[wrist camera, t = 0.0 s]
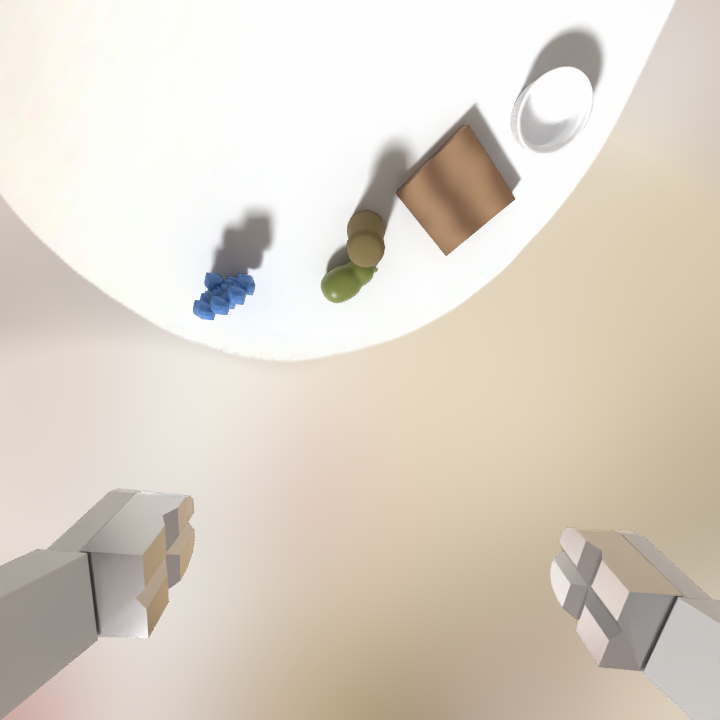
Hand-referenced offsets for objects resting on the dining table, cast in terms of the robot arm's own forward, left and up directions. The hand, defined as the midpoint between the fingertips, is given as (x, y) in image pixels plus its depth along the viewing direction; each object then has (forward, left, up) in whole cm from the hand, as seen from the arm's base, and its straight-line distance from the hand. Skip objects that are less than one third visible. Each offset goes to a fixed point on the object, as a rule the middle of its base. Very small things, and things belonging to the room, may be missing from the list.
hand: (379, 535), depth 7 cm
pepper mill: (+4, +4, -52) cm, 53 cm away
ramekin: (-23, +9, -52) cm, 58 cm away
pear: (+11, +7, -52) cm, 54 cm away
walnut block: (-9, +9, -52) cm, 53 cm away
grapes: (+26, -6, -52) cm, 59 cm away
